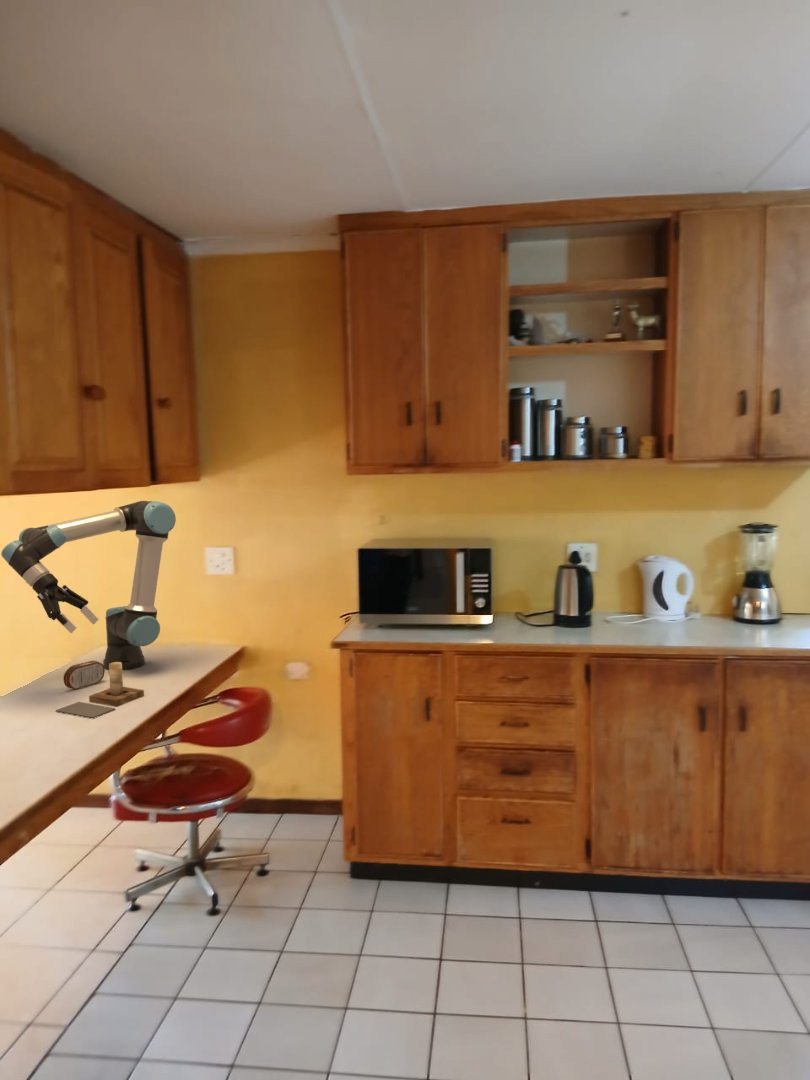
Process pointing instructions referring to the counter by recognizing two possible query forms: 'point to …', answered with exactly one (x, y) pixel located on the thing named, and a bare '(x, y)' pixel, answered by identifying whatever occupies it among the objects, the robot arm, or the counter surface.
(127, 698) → the slot block
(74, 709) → the mat
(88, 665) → the tin
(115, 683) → the peg
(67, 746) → the counter surface
